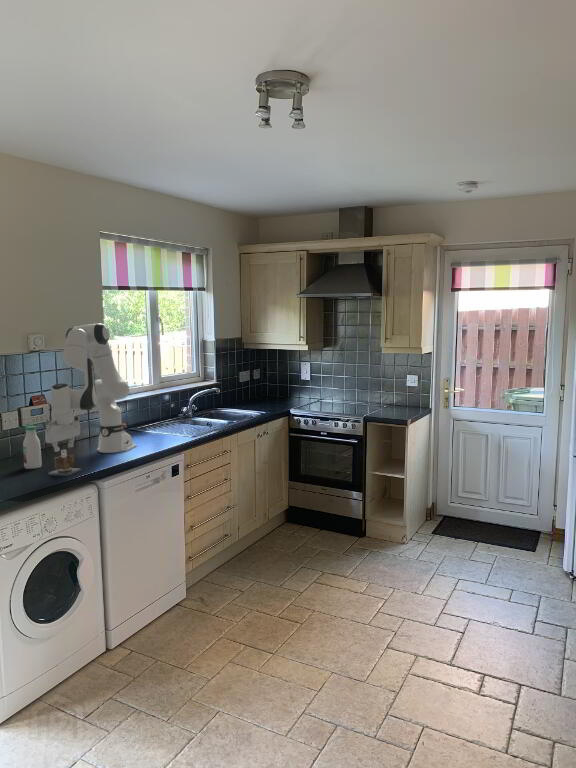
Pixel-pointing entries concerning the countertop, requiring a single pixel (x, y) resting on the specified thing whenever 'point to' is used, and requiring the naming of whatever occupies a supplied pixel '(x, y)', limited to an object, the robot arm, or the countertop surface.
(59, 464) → the collar
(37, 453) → the milk bottle
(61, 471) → the post
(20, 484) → the countertop surface
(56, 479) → the countertop surface
